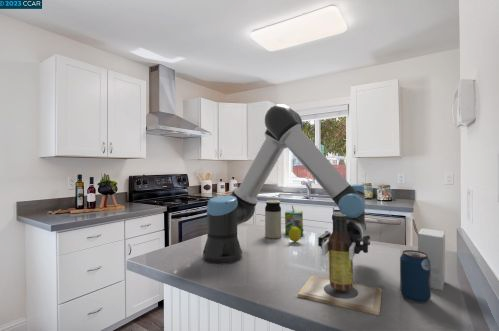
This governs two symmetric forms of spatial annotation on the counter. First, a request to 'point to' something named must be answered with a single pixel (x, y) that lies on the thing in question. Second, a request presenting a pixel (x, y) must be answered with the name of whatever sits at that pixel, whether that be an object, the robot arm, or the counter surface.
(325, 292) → the wooden picture frame
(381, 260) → the counter surface
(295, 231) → the lemon
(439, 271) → the skincare box
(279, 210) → the travel mug
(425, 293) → the soda can
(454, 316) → the counter surface
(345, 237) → the sauce bottle
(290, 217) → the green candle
